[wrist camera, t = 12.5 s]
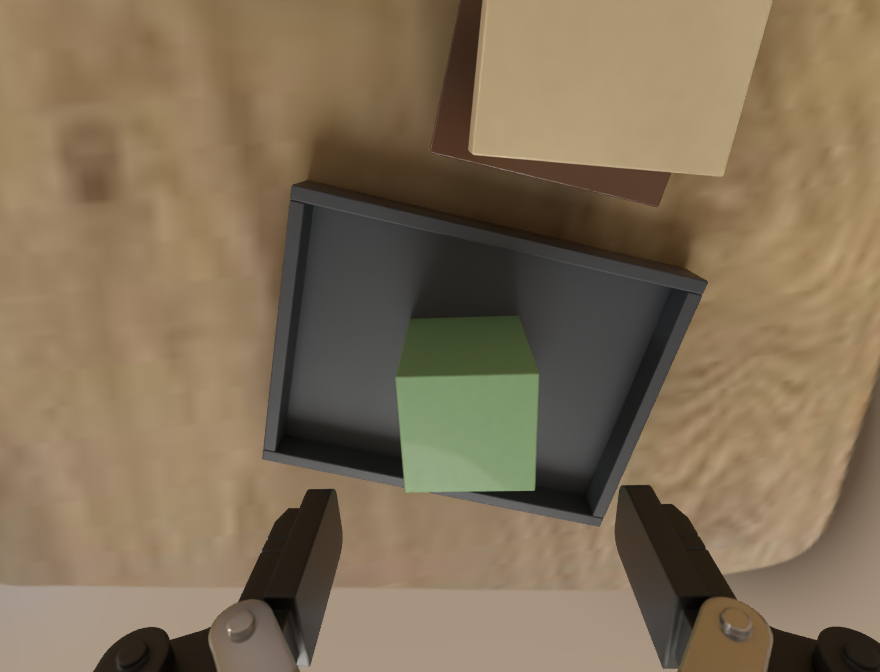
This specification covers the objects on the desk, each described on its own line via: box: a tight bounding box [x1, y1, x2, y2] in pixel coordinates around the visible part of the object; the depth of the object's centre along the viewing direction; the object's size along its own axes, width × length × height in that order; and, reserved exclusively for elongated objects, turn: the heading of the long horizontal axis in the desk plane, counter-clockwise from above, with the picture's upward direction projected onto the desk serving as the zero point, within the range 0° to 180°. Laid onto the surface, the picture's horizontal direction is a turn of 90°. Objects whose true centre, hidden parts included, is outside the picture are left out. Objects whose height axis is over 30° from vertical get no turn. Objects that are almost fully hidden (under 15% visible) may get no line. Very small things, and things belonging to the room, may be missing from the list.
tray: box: [262, 181, 708, 527], centre depth 23 cm, size 13×17×2 cm
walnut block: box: [430, 0, 671, 207], centre depth 17 cm, size 8×8×4 cm
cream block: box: [468, 0, 773, 177], centre depth 13 cm, size 6×6×4 cm
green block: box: [395, 316, 540, 492], centre depth 21 cm, size 5×5×6 cm
